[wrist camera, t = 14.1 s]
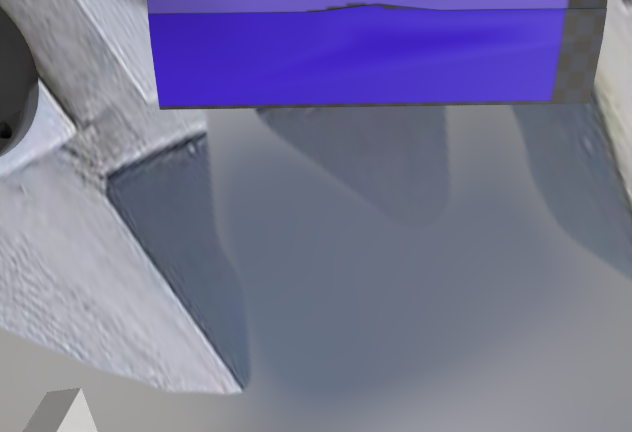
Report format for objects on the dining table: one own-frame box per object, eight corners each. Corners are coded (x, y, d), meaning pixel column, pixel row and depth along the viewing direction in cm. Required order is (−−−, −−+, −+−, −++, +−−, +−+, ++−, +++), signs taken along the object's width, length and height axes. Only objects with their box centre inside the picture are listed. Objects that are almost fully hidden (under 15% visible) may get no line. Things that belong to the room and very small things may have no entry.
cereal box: (231, 45, 45) (158, 110, 23) (226, -20, 43) (143, -18, 21) (452, 42, 45) (591, 104, 23) (457, -23, 44) (613, -24, 21)
